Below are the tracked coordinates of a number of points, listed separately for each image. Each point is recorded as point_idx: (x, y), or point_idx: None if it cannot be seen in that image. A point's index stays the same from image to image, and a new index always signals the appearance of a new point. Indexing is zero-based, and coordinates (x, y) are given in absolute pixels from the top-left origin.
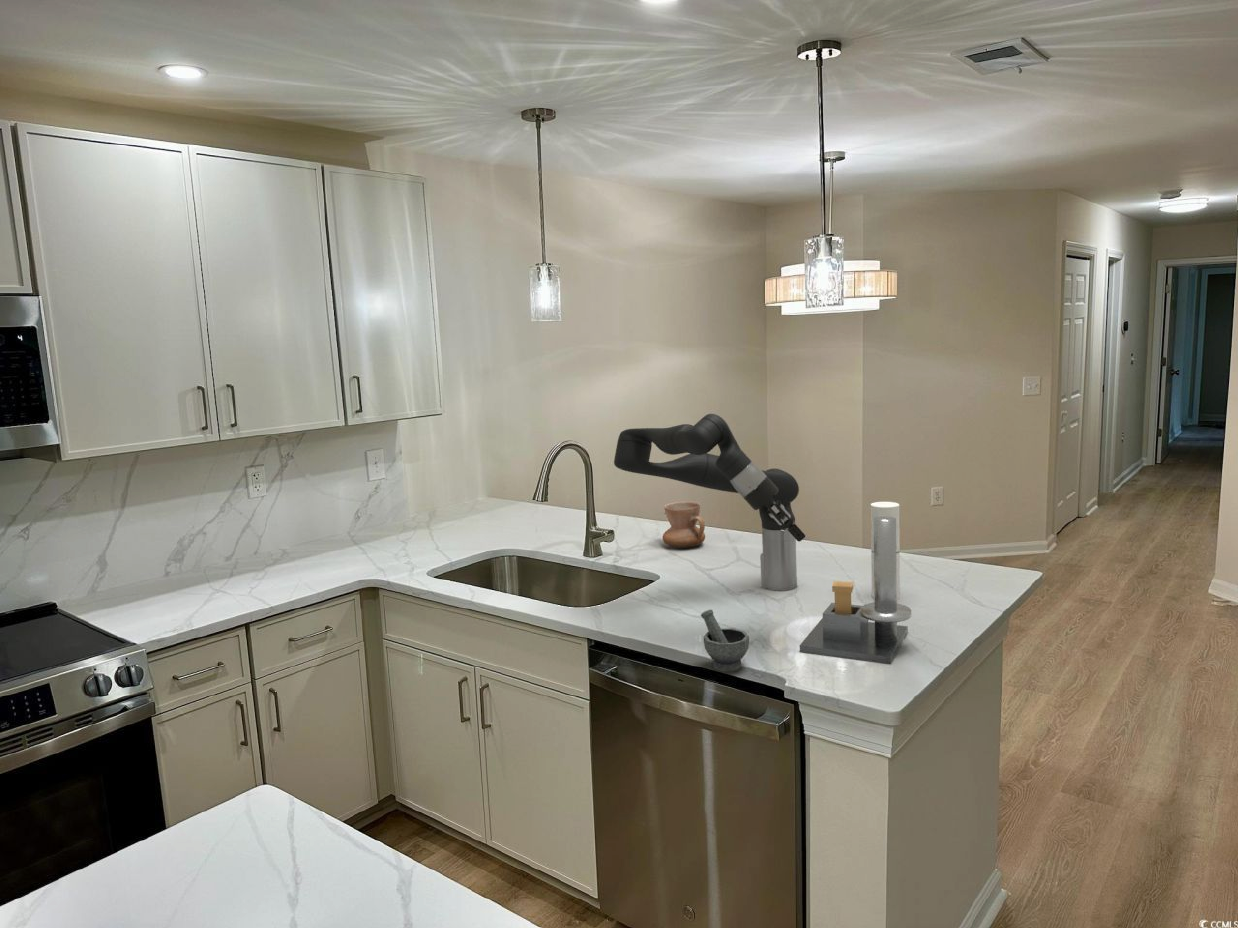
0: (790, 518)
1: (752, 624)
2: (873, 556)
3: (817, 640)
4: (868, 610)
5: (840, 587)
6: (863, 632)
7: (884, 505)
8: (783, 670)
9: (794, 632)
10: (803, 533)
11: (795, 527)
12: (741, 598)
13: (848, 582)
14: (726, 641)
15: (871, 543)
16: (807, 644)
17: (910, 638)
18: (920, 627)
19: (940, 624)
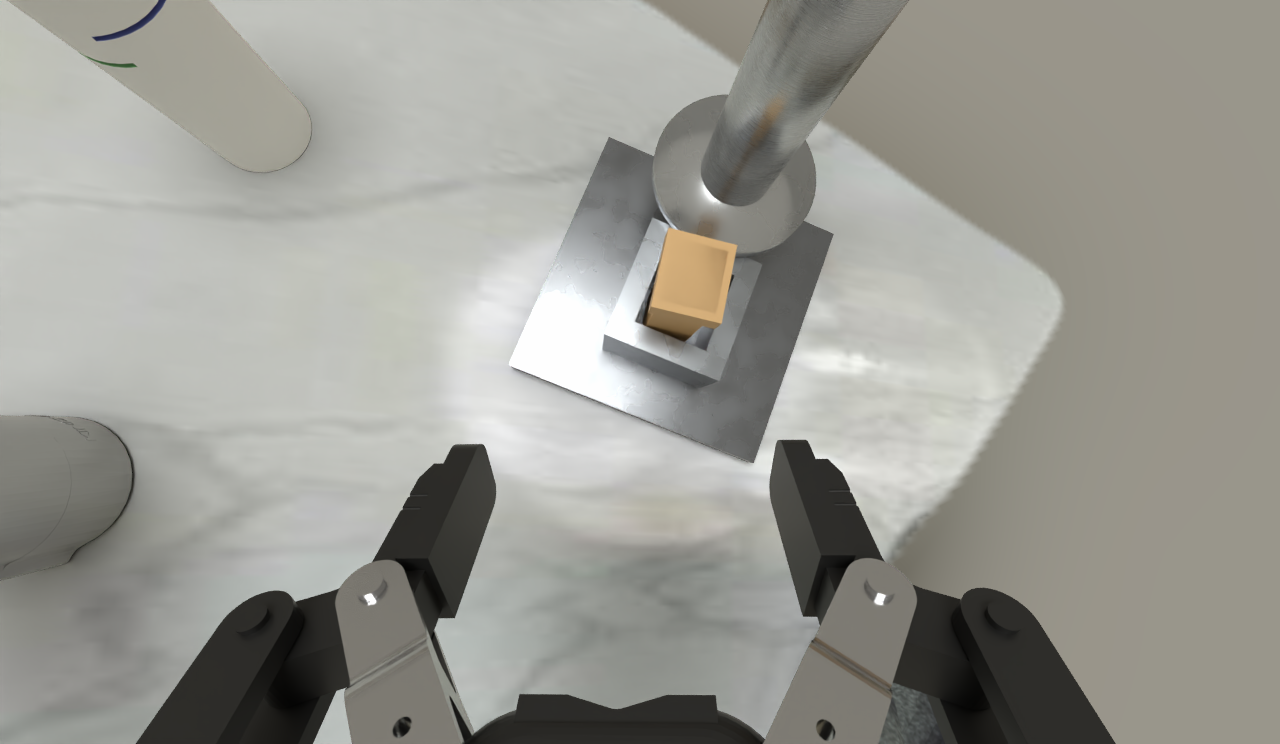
0: (1059, 661)
1: (510, 600)
2: (137, 55)
3: (715, 406)
4: (742, 227)
5: (727, 291)
6: None
7: None
8: (874, 514)
9: (593, 464)
10: (813, 456)
11: (874, 547)
12: None
13: (676, 248)
14: (889, 717)
15: (40, 4)
16: (747, 439)
17: (653, 152)
18: (569, 105)
19: (548, 48)
